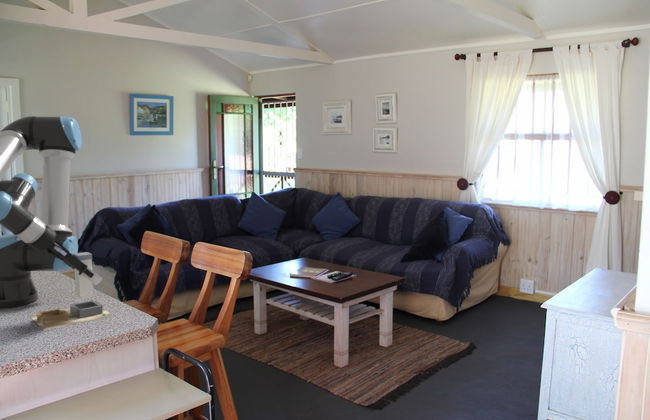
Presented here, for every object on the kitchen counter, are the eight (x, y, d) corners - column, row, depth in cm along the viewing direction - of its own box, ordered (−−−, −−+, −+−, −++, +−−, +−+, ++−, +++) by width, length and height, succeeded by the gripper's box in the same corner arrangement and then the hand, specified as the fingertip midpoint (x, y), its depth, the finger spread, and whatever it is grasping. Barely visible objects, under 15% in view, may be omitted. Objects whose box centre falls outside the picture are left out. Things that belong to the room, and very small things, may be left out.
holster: (36, 319, 172) (35, 312, 171) (61, 314, 177) (61, 308, 176) (43, 325, 166) (43, 319, 166) (69, 320, 171) (69, 313, 171)
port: (69, 312, 178) (68, 304, 178) (94, 307, 184) (94, 299, 183) (80, 320, 171) (79, 312, 171) (106, 314, 176) (106, 307, 176)
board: (29, 320, 174) (29, 316, 174) (95, 307, 188) (94, 303, 188) (45, 334, 163) (45, 330, 163) (114, 319, 176) (113, 315, 176)
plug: (75, 294, 176) (73, 253, 175) (89, 292, 179) (87, 251, 177) (79, 297, 173) (77, 255, 172) (93, 295, 176) (92, 254, 174)
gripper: (19, 240, 170) (78, 284, 183) (36, 249, 157) (98, 295, 171) (37, 221, 173) (94, 266, 186) (55, 228, 160) (115, 275, 173)
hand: (96, 280), depth 178 cm, fingers closed on plug, 4 cm apart
